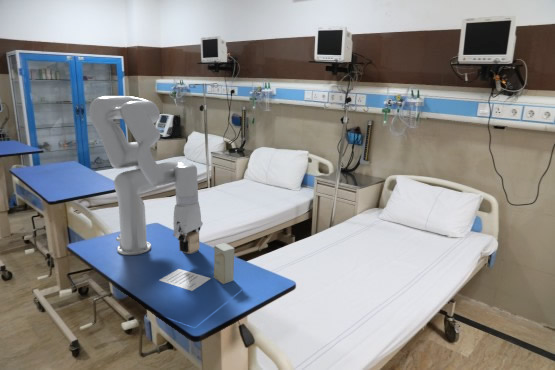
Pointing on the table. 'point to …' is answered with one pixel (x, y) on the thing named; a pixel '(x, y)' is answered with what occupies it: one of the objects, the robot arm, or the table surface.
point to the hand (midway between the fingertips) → (189, 248)
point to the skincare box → (224, 263)
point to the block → (192, 241)
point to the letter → (185, 279)
